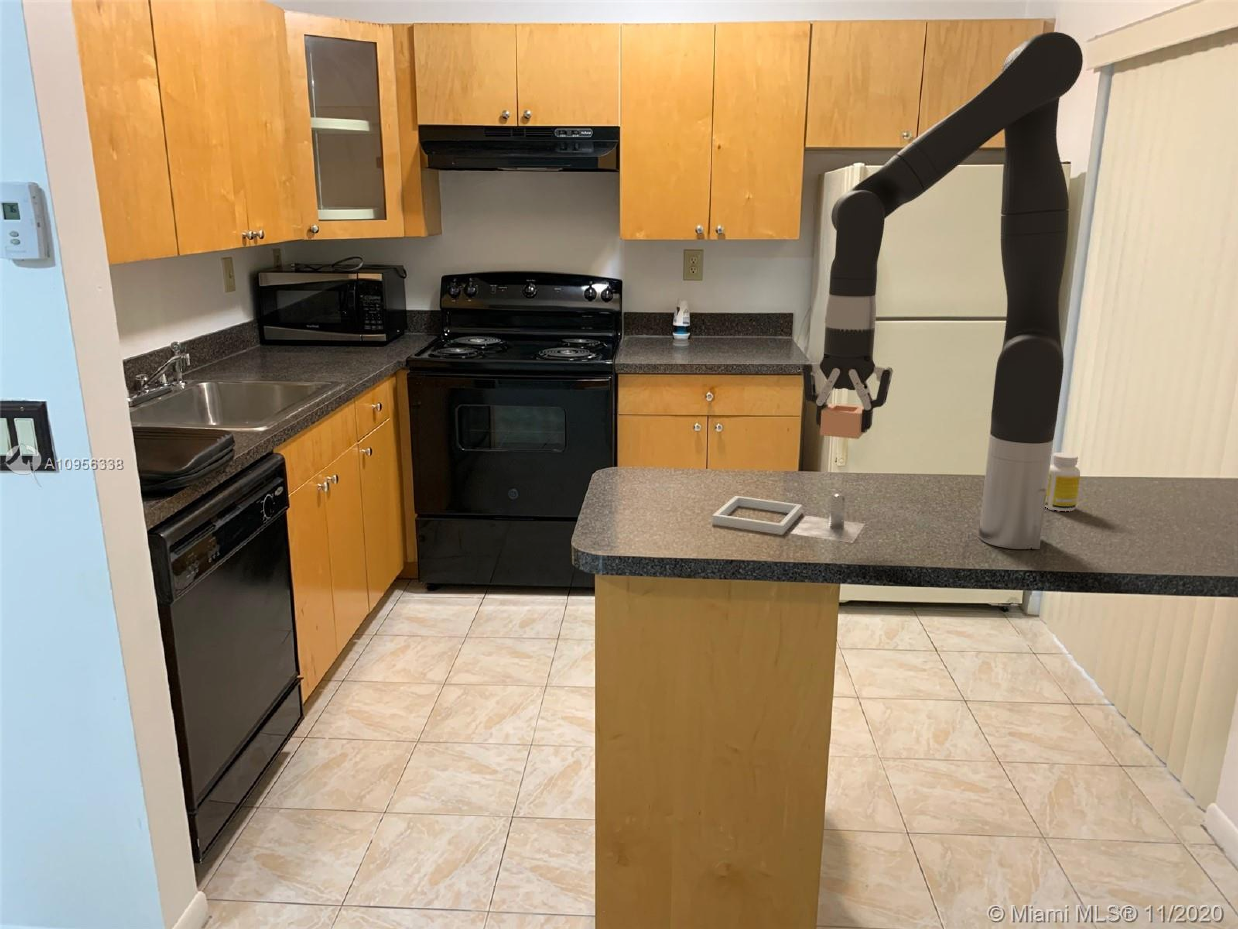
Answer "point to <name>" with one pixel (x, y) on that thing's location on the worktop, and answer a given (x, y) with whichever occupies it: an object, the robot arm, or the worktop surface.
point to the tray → (757, 525)
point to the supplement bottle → (1063, 482)
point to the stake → (830, 523)
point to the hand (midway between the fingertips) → (843, 429)
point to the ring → (841, 421)
